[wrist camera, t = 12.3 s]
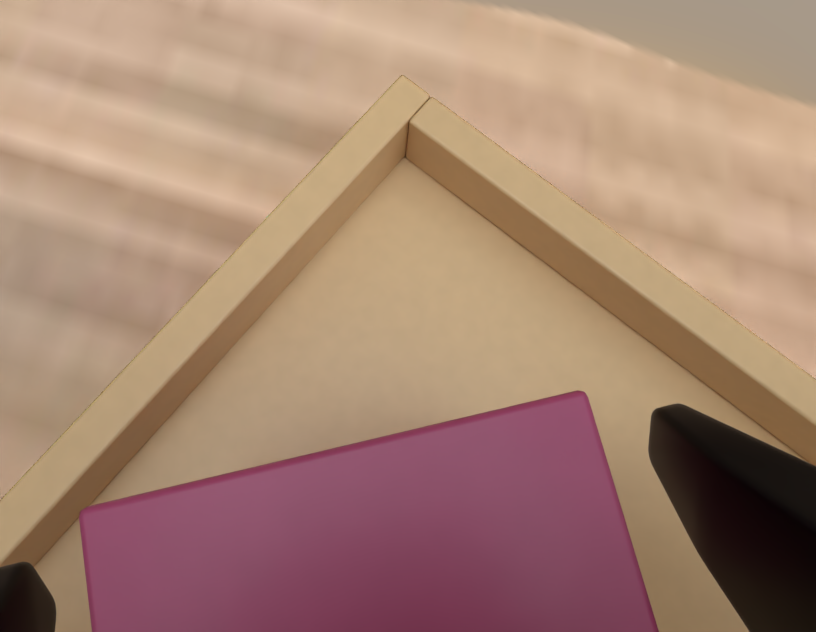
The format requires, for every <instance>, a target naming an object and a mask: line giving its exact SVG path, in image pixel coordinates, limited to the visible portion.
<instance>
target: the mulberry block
mask: <svg viewBox="0 0 816 632" xmlns="http://www.w3.org/2000/svg"><path fill="white" fill-rule="evenodd" d="M79 523H80V532H81V540H82V549H83V558H84V567H85V575H86V584H87V593H88V601H89V610H90V619H91V628H92V632H659V630H658V627H657V624H656V620H655V617H654V614H653V610H652V607H651V604H650V600H649V597H648V594H647V590H646V587H645V584H644V580H643V577H642V574H641V571H640V567H639V564H638V561H637V557H636V554H635V551H634V547H633V544H632V541H631V537H630V534H629V531H628V528H627V524H626V521H625V518H624V514H623V511H622V508H621V504H620V501H619V498H618V494H617V491H616V488H615V485H614V481H613V478H612V475H611V471H610V468H609V465H608V461H607V458H606V455H605V451H604V448H603V445H602V442H601V438H600V435H599V432H598V428H597V425H596V422H595V418H594V415H593V412H592V408H591V405H590V402H589V398H588V396H587V395H586V393H585V392H584V391H579V390H577V391H572V392H568V393H564V394H560V395H555V396H551V397H547V398H543V399H539V400H534V401H530V402H526V403H522V404H517V405H513V406H509V407H505V408H501V409H496V410H492V411H488V412H484V413H479V414H475V415H471V416H467V417H463V418H458V419H454V420H450V421H446V422H441V423H437V424H433V425H429V426H425V427H420V428H416V429H412V430H408V431H403V432H399V433H395V434H391V435H387V436H382V437H378V438H374V439H370V440H365V441H361V442H357V443H353V444H349V445H344V446H340V447H336V448H332V449H327V450H323V451H319V452H315V453H311V454H306V455H302V456H298V457H294V458H289V459H285V460H281V461H277V462H272V463H268V464H264V465H260V466H256V467H251V468H247V469H243V470H239V471H234V472H230V473H226V474H222V475H218V476H213V477H209V478H205V479H201V480H196V481H192V482H188V483H184V484H180V485H175V486H171V487H167V488H163V489H158V490H154V491H150V492H146V493H142V494H137V495H133V496H129V497H125V498H120V499H116V500H112V501H108V502H104V503H99V504H95V505H91V506H87V507H86V508H84V509H83V510H81V511H80V514H79Z"/></svg>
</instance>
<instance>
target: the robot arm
mask: <svg viewBox="0 0 816 632" xmlns="http://www.w3.org/2000/svg"><path fill="white" fill-rule="evenodd" d="M648 453H649V458H650V461H651V464H652V466H653V468H654V470H655V472H656V474H657V476H658V478H659V480H660V482H661V484H662V485H663V487H664V489H665V491H666V493H667V495H668V497H669V499H670V501H671V503H672V505H673V507H674V509H675V511H676V512H677V514H678V516H679V518H680V520H681V522H682V524H683V526H684V528H685V530H686V532H687V534H688V536H689V538H690V539H691V541H692V543H693V545H694V547H695V549H696V550H697V552H698V554H699V555H700V557H701V559H702V560H703V562H704V563H705V565H706V567H707V568H708V570H709V571H710V573H711V574H712V576H713V577H714V579H715V580H716V582H717V583H718V585H719V586H720V588H721V589H722V591H723V592H724V594H725V595H726V597H727V598H728V600H729V601H730V603H731V604H732V606H733V607H734V609H735V611H736V612H737V614H738V615H739V617H740V618H741V620H742V621H743V623H744V624H745V626H746V627H747V629H748V630H749V632H816V466H815V465H813V464H811V463H808V462H806V461H804V460H802V459H800V458H798V457H796V456H793V455H791V454H789V453H787V452H785V451H783V450H781V449H778V448H776V447H774V446H772V445H770V444H768V443H765V442H763V441H761V440H759V439H757V438H755V437H753V436H750V435H748V434H746V433H744V432H742V431H740V430H738V429H735V428H733V427H731V426H729V425H727V424H725V423H723V422H720V421H718V420H716V419H714V418H712V417H710V416H708V415H705V414H703V413H701V412H699V411H697V410H695V409H692V408H690V407H688V406H686V405H683V404H680V403H677V404H672V405H667V406H663V407H659V408H656V409H655V410H654V411H653V412H652V414H651V421H650V433H649V444H648ZM55 626H56V604H55V601H54V598H53V596H52V594H51V593H50V591H49V590H48V588H47V587H46V585H45V584H44V582H43V580H42V579H41V577H40V576H39V574H38V573H37V571H36V570H35V568H34V567H33V566H32V564H30V563H28V562H18V563H14V564H10V565H6V566H2V567H0V632H55Z"/></svg>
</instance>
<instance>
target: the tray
mask: <svg viewBox="0 0 816 632" xmlns="http://www.w3.org/2000/svg"><path fill="white" fill-rule="evenodd" d="M577 390H579V391H584V392H585V393H586V395H587V396H588V398H589V402H590V405H591V408H592V412H593V415H594V418H595V422H596V425H597V428H598V432H599V435H600V438H601V442H602V445H603V448H604V451H605V455H606V458H607V461H608V465H609V468H610V471H611V475H612V478H613V481H614V485H615V488H616V491H617V494H618V498H619V501H620V504H621V508H622V511H623V514H624V518H625V521H626V524H627V528H628V531H629V534H630V537H631V541H632V544H633V547H634V551H635V554H636V557H637V561H638V564H639V567H640V571H641V574H642V577H643V580H644V584H645V587H646V590H647V594H648V597H649V600H650V604H651V607H652V610H653V614H654V617H655V620H656V624H657V627H658V630H659V632H749V630H748V629H747V627H746V626H745V624H744V623H743V621H742V620H741V618H740V617H739V615H738V614H737V612H736V611H735V609H734V607H733V606H732V604H731V603H730V601H729V600H728V598H727V597H726V595H725V594H724V592H723V591H722V589H721V588H720V586H719V585H718V583H717V582H716V580H715V579H714V577H713V576H712V574H711V573H710V571H709V570H708V568H707V567H706V565H705V563H704V562H703V560H702V559H701V557H700V555H699V554H698V552H697V550H696V549H695V547H694V545H693V543H692V541H691V539H690V538H689V536H688V534H687V532H686V530H685V528H684V526H683V524H682V522H681V520H680V518H679V516H678V514H677V512H676V511H675V509H674V507H673V505H672V503H671V501H670V499H669V497H668V495H667V493H666V491H665V489H664V487H663V485H662V484H661V482H660V480H659V478H658V476H657V474H656V472H655V470H654V468H653V466H652V464H651V461H650V458H649V453H648V444H649V433H650V421H651V414H652V412H653V411H654V410H655V409H656V408H659V407H663V406H667V405H672V404H677V403H680V404H683V405H686V406H688V407H690V408H692V409H695V410H697V411H699V412H701V413H703V414H705V415H708V416H710V417H712V418H714V419H716V420H718V421H720V422H723V423H725V424H727V425H729V426H731V427H733V428H735V429H738V430H740V431H742V432H744V433H746V434H748V435H750V436H753V437H755V438H757V439H759V440H761V441H763V442H765V443H768V444H770V445H772V446H774V447H776V448H778V449H781V450H783V451H785V452H787V453H789V454H791V455H793V456H796V457H798V458H800V459H802V460H804V461H806V462H808V463H811V464H813V465H815V466H816V379H815V378H814V377H812V376H811V375H809V374H808V373H807V372H805V371H804V370H803V369H801V368H800V367H799V366H797V365H796V364H795V363H793V362H792V361H790V360H789V359H788V358H786V357H785V356H784V355H782V354H781V353H780V352H778V351H777V350H776V349H774V348H773V347H771V346H770V345H769V344H767V343H766V342H765V341H763V340H762V339H761V338H759V337H758V336H757V335H755V334H754V333H752V332H751V331H750V330H748V329H747V328H746V327H744V326H743V325H742V324H740V323H739V322H738V321H736V320H735V319H733V318H732V317H731V316H729V315H728V314H727V313H725V312H724V311H723V310H721V309H720V308H719V307H717V306H716V305H714V304H713V303H712V302H710V301H709V300H708V299H706V298H705V297H704V296H702V295H701V294H700V293H698V292H697V291H695V290H694V289H693V288H691V287H690V286H689V285H687V284H686V283H685V282H683V281H682V280H681V279H679V278H678V277H676V276H675V275H674V274H672V273H671V272H670V271H668V270H667V269H666V268H664V267H663V266H662V265H660V264H659V263H657V262H656V261H655V260H653V259H652V258H651V257H649V256H648V255H647V254H645V253H644V252H643V251H641V250H640V249H638V248H637V247H636V246H634V245H633V244H632V243H630V242H629V241H628V240H626V239H625V238H624V237H622V236H621V235H619V234H618V233H617V232H615V231H614V230H613V229H611V228H610V227H609V226H607V225H606V224H605V223H603V222H602V221H600V220H599V219H598V218H596V217H595V216H594V215H592V214H591V213H590V212H588V211H587V210H586V209H584V208H583V207H581V206H580V205H579V204H577V203H576V202H575V201H573V200H572V199H571V198H569V197H568V196H567V195H565V194H564V193H562V192H561V191H560V190H558V189H557V188H556V187H554V186H553V185H552V184H550V183H549V182H548V181H546V180H545V179H543V178H542V177H541V176H539V175H538V174H537V173H535V172H534V171H533V170H531V169H530V168H529V167H527V166H526V165H524V164H523V163H522V162H520V161H519V160H518V159H516V158H515V157H514V156H512V155H511V154H510V153H508V152H507V151H505V150H504V149H503V148H501V147H500V146H499V145H497V144H496V143H495V142H493V141H492V140H491V139H489V138H488V137H486V136H485V135H484V134H482V133H481V132H480V131H478V130H477V129H476V128H474V127H473V126H472V125H470V124H469V123H467V122H466V121H465V120H463V119H462V118H461V117H459V116H458V115H457V114H455V113H454V112H453V111H451V110H450V109H448V108H447V107H446V106H444V105H443V104H442V103H440V102H439V101H438V100H436V99H435V98H433V97H431V98H430V95H429V94H428V93H427V92H425V91H424V90H423V89H421V88H420V87H419V86H417V85H416V84H415V83H413V82H412V81H411V80H409V79H408V78H406V77H405V76H403V75H401V76H400V77H399V78H398V79H397V80H396V81H395V82H394V83H393V84H392V85H391V86H390V87H389V89H388V90H387V91H386V92H385V93H384V94H383V95H382V96H381V97H380V98H379V99H378V100H377V101H376V102H375V103H374V104H373V105H372V107H371V108H370V109H369V110H368V111H367V112H366V113H365V114H364V115H363V116H362V117H361V118H360V119H359V120H358V121H357V122H356V124H355V125H354V126H353V127H352V128H351V129H350V130H349V131H348V132H347V133H346V134H345V135H344V136H343V137H342V138H341V139H340V140H339V142H338V143H337V144H336V145H335V146H334V147H333V148H332V149H331V150H330V151H329V152H328V153H327V154H326V155H325V156H324V157H323V159H322V160H321V161H320V162H319V163H318V164H317V165H316V166H315V167H314V168H313V169H312V170H311V171H310V172H309V173H308V174H307V175H306V177H305V178H304V179H303V180H302V181H301V182H300V183H299V184H298V185H297V186H296V187H295V188H294V189H293V190H292V191H291V192H290V194H289V195H288V196H287V197H286V198H285V199H284V200H283V201H282V202H281V203H280V204H279V205H278V206H277V207H276V208H275V209H274V210H273V212H272V213H271V214H270V215H269V216H268V217H267V218H266V219H265V220H264V221H263V222H262V223H261V224H260V225H259V226H258V227H257V229H256V230H255V231H254V232H253V233H252V234H251V235H250V236H249V237H248V238H247V239H246V240H245V241H244V242H243V243H242V244H241V245H240V247H239V248H238V249H237V250H236V251H235V252H234V253H233V254H232V255H231V256H230V257H229V258H228V259H227V260H226V261H225V262H224V264H223V265H222V266H221V267H220V268H219V269H218V270H217V271H216V272H215V273H214V274H213V275H212V276H211V277H210V278H209V279H208V280H207V282H206V283H205V284H204V285H203V286H202V287H201V288H200V289H199V290H198V291H197V292H196V293H195V294H194V295H193V296H192V297H191V299H190V300H189V301H188V302H187V303H186V304H185V305H184V306H183V307H182V308H181V309H180V310H179V311H178V312H177V313H176V314H175V315H174V317H173V318H172V319H171V320H170V321H169V322H168V323H167V324H166V325H165V326H164V327H163V328H162V329H161V330H160V331H159V332H158V334H157V335H156V336H155V337H154V338H153V339H152V340H151V341H150V342H149V343H148V344H147V345H146V346H145V347H144V348H143V349H142V350H141V352H140V353H139V354H138V355H137V356H136V357H135V358H134V359H133V360H132V361H131V362H130V363H129V364H128V365H127V366H126V367H125V369H124V370H123V371H122V372H121V373H120V374H119V375H118V376H117V377H116V378H115V379H114V380H113V381H112V382H111V383H110V384H109V385H108V387H107V388H106V389H105V390H104V391H103V392H102V393H101V394H100V395H99V396H98V397H97V398H96V399H95V400H94V401H93V402H92V404H91V405H90V406H89V407H88V408H87V409H86V410H85V411H84V412H83V413H82V414H81V415H80V416H79V417H78V418H77V419H76V420H75V422H74V423H73V424H72V425H71V426H70V427H69V428H68V429H67V430H66V431H65V432H64V433H63V434H62V435H61V436H60V437H59V439H58V440H57V441H56V442H55V443H54V444H53V445H52V446H51V447H50V448H49V449H48V450H47V451H46V452H45V453H44V454H43V455H42V457H41V458H40V459H39V460H38V461H37V462H36V463H35V464H34V465H33V466H32V467H31V468H30V469H29V470H28V471H27V472H26V474H25V475H24V476H23V477H22V478H21V479H20V480H19V481H18V482H17V483H16V484H15V485H14V486H13V487H12V488H11V489H10V490H9V492H8V493H7V494H6V495H5V496H4V497H3V498H2V499H1V500H0V567H2V566H6V565H10V564H14V563H18V562H28V563H30V564H32V566H33V567H34V568H35V570H36V571H37V573H38V574H39V576H40V577H41V579H42V580H43V582H44V584H45V585H46V587H47V588H48V590H49V591H50V593H51V594H52V596H53V598H54V601H55V604H56V626H55V632H92V628H91V619H90V610H89V601H88V593H87V584H86V575H85V567H84V558H83V549H82V540H81V532H80V523H79V514H80V511H81V510H83V509H84V508H86V507H87V506H91V505H95V504H99V503H104V502H108V501H112V500H116V499H120V498H125V497H129V496H133V495H137V494H142V493H146V492H150V491H154V490H158V489H163V488H167V487H171V486H175V485H180V484H184V483H188V482H192V481H196V480H201V479H205V478H209V477H213V476H218V475H222V474H226V473H230V472H234V471H239V470H243V469H247V468H251V467H256V466H260V465H264V464H268V463H272V462H277V461H281V460H285V459H289V458H294V457H298V456H302V455H306V454H311V453H315V452H319V451H323V450H327V449H332V448H336V447H340V446H344V445H349V444H353V443H357V442H361V441H365V440H370V439H374V438H378V437H382V436H387V435H391V434H395V433H399V432H403V431H408V430H412V429H416V428H420V427H425V426H429V425H433V424H437V423H441V422H446V421H450V420H454V419H458V418H463V417H467V416H471V415H475V414H479V413H484V412H488V411H492V410H496V409H501V408H505V407H509V406H513V405H517V404H522V403H526V402H530V401H534V400H539V399H543V398H547V397H551V396H555V395H560V394H564V393H568V392H572V391H577Z"/></svg>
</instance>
